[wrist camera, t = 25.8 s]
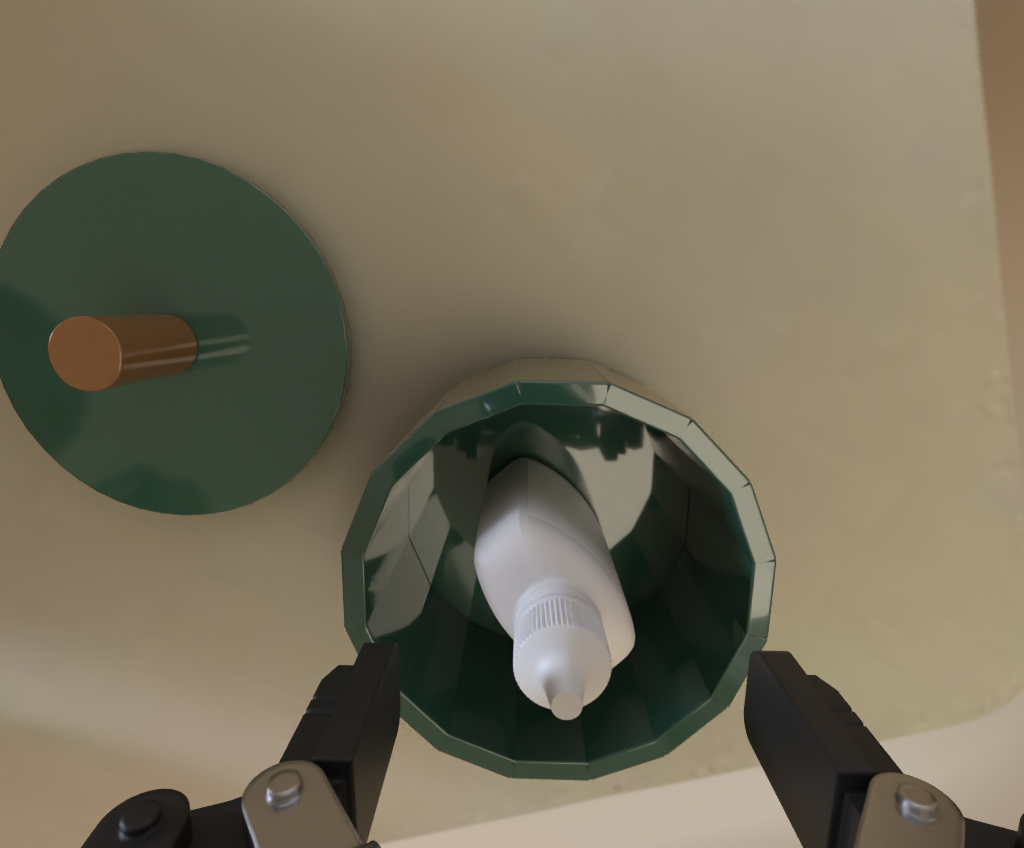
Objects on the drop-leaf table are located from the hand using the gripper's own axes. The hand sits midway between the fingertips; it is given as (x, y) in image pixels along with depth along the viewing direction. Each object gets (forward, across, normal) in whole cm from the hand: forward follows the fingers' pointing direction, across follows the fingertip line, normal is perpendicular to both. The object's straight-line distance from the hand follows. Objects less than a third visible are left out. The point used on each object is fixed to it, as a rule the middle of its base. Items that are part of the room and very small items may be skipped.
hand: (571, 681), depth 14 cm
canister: (+12, 0, 0) cm, 12 cm away
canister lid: (+12, +15, -6) cm, 20 cm away
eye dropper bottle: (+12, 0, 0) cm, 12 cm away
